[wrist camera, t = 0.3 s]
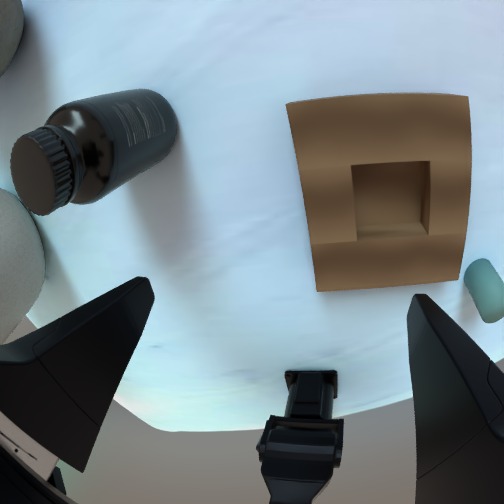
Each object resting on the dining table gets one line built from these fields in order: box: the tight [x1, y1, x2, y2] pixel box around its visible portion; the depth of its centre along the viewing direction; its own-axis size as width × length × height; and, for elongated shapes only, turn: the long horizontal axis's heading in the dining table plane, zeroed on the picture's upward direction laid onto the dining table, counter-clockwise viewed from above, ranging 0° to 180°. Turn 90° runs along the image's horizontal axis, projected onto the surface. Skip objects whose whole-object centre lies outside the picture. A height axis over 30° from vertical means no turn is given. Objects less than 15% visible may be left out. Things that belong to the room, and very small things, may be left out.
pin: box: [464, 258, 504, 323], centre depth 19 cm, size 3×3×5 cm
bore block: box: [285, 93, 472, 292], centre depth 18 cm, size 14×12×3 cm
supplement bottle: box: [10, 89, 177, 216], centre depth 16 cm, size 7×7×12 cm
